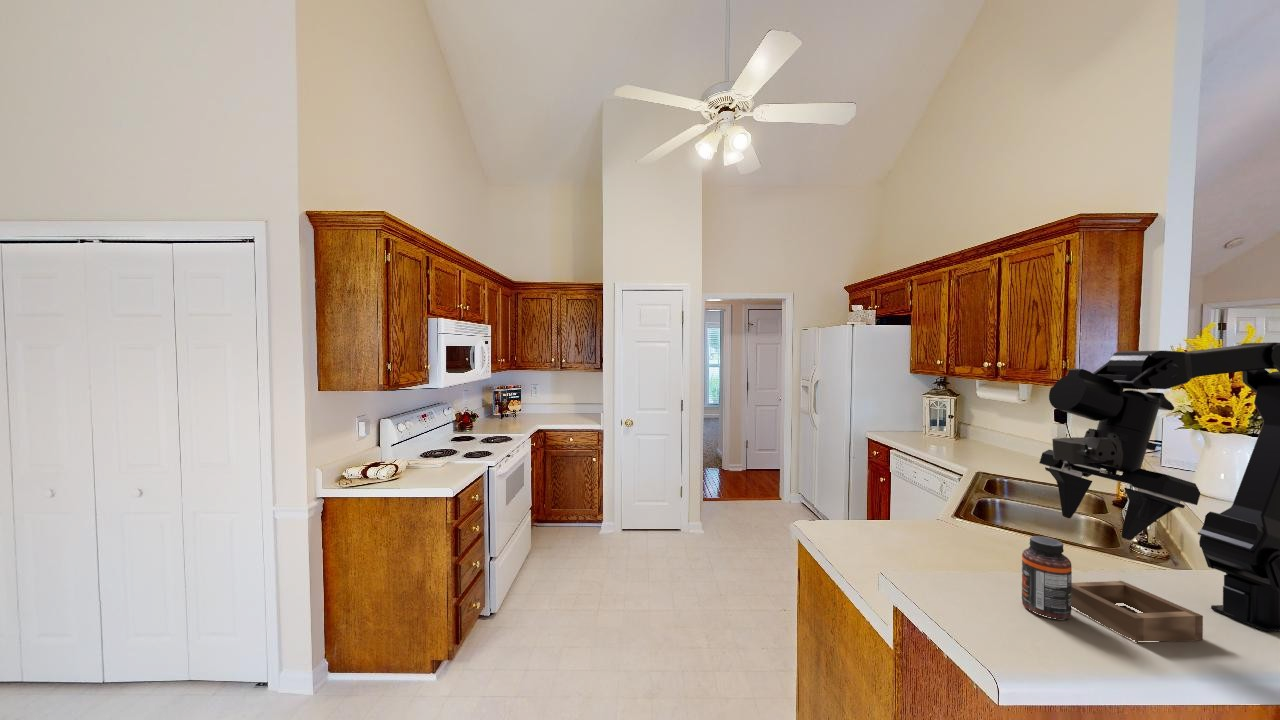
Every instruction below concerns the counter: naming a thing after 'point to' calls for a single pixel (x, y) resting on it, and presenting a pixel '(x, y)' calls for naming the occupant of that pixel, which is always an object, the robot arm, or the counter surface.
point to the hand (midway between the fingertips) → (1094, 527)
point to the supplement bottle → (1046, 578)
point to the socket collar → (1151, 625)
